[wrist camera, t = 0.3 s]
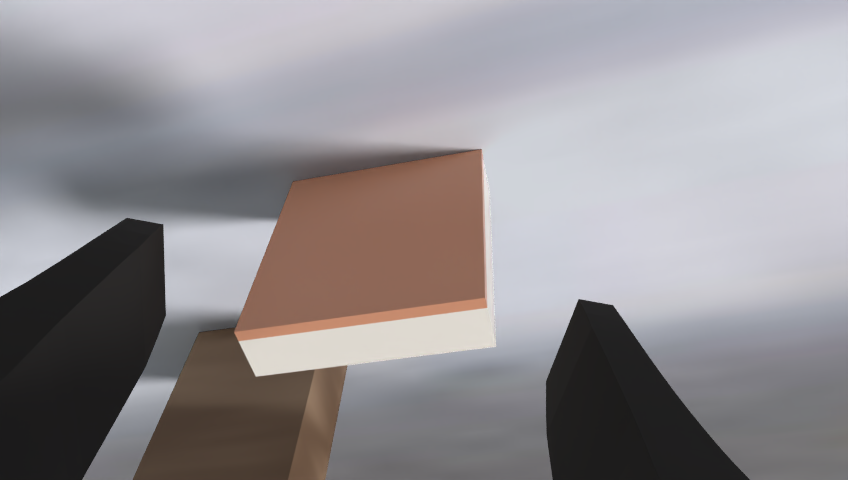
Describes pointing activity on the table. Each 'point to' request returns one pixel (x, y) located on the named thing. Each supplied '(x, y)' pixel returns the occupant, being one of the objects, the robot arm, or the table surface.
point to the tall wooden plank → (243, 419)
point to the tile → (375, 268)
